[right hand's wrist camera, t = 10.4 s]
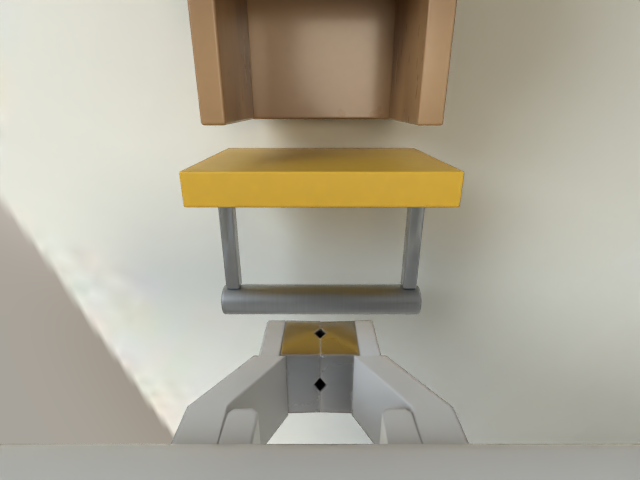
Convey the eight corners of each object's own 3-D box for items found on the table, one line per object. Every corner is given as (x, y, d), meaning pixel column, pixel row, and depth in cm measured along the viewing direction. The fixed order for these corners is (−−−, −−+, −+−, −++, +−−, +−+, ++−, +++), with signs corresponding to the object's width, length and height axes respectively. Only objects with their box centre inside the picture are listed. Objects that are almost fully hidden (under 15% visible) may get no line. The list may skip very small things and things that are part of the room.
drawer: (403, 279, 20) (439, 355, 14) (239, 279, 20) (203, 355, 14) (455, -290, 12) (584, -668, 6) (188, -289, 12) (61, -666, 6)
